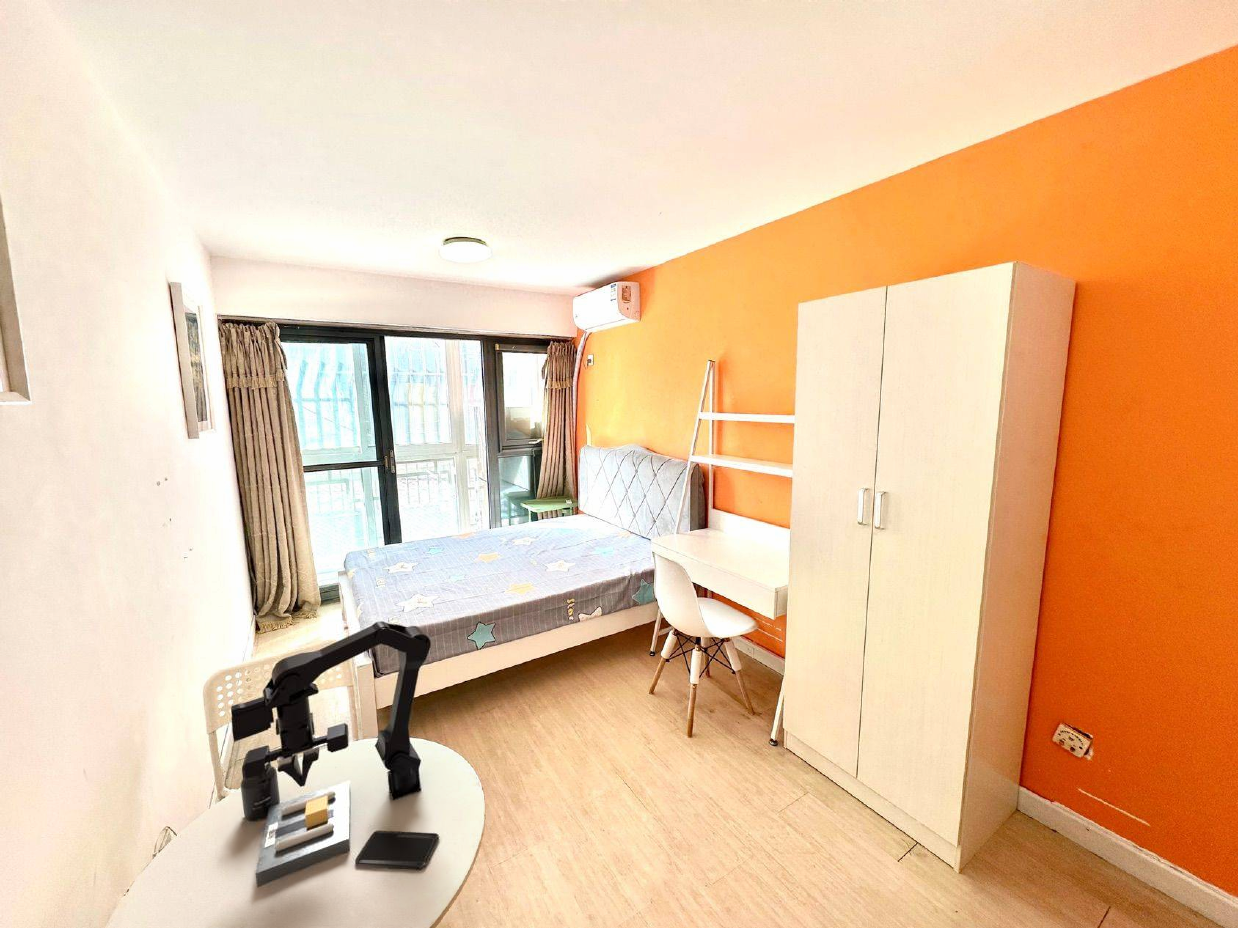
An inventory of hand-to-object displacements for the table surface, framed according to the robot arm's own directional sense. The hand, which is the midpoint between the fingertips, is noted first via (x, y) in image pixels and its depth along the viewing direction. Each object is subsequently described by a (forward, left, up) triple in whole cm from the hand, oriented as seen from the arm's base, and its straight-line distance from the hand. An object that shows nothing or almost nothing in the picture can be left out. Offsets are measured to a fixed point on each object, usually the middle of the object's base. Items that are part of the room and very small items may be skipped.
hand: (302, 784), depth 107 cm
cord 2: (0, -5, -9) cm, 10 cm away
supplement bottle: (+10, -13, -12) cm, 20 cm away
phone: (-17, +14, -13) cm, 25 cm away
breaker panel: (0, 0, -12) cm, 12 cm away
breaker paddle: (-2, 0, -9) cm, 9 cm away
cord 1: (0, +5, -9) cm, 10 cm away
